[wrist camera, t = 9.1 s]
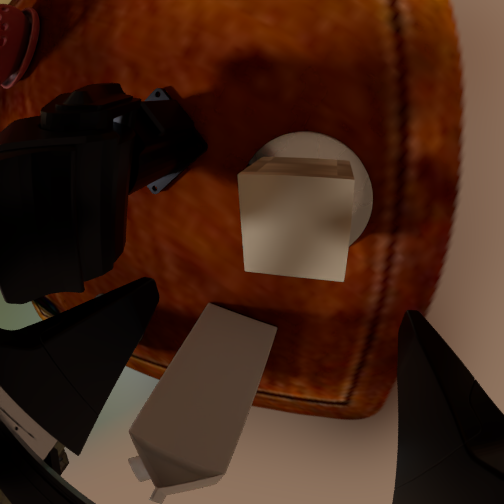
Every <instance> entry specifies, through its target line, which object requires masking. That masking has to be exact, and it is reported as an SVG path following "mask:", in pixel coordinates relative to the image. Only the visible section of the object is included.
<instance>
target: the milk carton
mask: <svg viewBox="0 0 504 504" xmlns="http://www.w3.org/2000/svg"><path fill="white" fill-rule="evenodd" d="M276 331H277V327H274V326H272V325H269V324H266V323H263V322H260V321H257V320H254V319H252V318H249V317H246V316H243V315H241V314H238V313H235V312H232V311H230V310H227V309H224V308H222V307H219V306H216V305H214V304H211V303H208V305H207V306H206V308H205V310H204V311H203V313H202V314H201V316H200V317H199V319H198V321H197V322H196V324H195V325H194V327H193V328H192V330H191V332H190V333H189V335H188V336H187V338H186V339H185V341H184V343H183V344H182V346H181V347H180V349H179V350H178V352H177V354H176V355H175V357H174V358H173V360H172V362H171V363H170V365H169V366H168V368H167V369H166V371H165V373H164V374H163V376H162V377H161V379H160V381H159V382H158V384H157V385H156V387H155V389H154V390H153V392H152V394H151V395H150V397H149V398H148V400H147V402H146V403H145V405H144V406H143V408H142V409H141V411H140V413H139V414H138V416H137V417H136V419H135V421H134V422H133V424H132V426H131V428H130V429H129V434H130V436H131V439H132V441H133V443H134V445H135V448H136V450H137V452H138V454H139V456H136V457H133V458H129V459H128V461H129V463H130V466H131V468H132V470H133V472H134V474H135V476H136V477H137V478H138V480H139V481H140V482H142V481H145V480H149V479H151V480H152V482H153V484H154V486H155V490H154V491H153V493H152V495H151V497H150V499H149V500H151V501H154V502H157V503H160V504H162V503H163V501H164V499H165V497H166V495H169V494H175V493H180V492H184V491H190V490H194V489H199V488H203V487H207V486H211V485H214V484H217V482H218V481H219V480H220V479H221V478H222V477H223V476H224V475H225V473H226V471H227V468H228V466H229V463H230V461H231V458H232V456H233V453H234V450H235V448H236V445H237V443H238V440H239V437H240V435H241V432H242V430H243V427H244V424H245V422H246V419H247V416H248V414H249V411H250V408H251V405H252V402H253V400H254V397H255V394H256V391H257V388H258V385H259V383H260V380H261V377H262V374H263V371H264V368H265V365H266V362H267V359H268V356H269V353H270V350H271V347H272V344H273V341H274V338H275V334H276Z"/></svg>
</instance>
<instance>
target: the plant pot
mask: <svg viewBox="0 0 504 504" xmlns="http://www.w3.org/2000/svg"><path fill="white" fill-rule="evenodd" d="M39 29H40V21H39V16H38V14H37V12H36V11H35V10H34V9H33V8H25V9H24V10H22V11H20V10H19V9H17V8H15V7H13V6H11V5H7V4H0V85H1V86H2V87H3V88H10V87H12V86H14V85H15V84H16V83H17V82H18V81H19V80H20V79H21V78H22V76H23V75H24V73H25V72H26V70H27V69H28V66H29V64H30V62H31V60H32V57H33V55H34V52H35V48H36V45H37V41H38V37H39Z"/></svg>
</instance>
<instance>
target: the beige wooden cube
mask: <svg viewBox="0 0 504 504" xmlns="http://www.w3.org/2000/svg"><path fill="white" fill-rule="evenodd" d="M237 175H238V189H239V202H240V215H241V228H242V241H243V253H244V266H245V271H248V272H256V273H265V274H274V275H283V276H292V277H302V278H311V279H321V280H331V281H341V282H344V277H345V270H346V263H347V255H348V247H349V239H350V230H351V220H352V209H353V197H354V183H355V179H354V175H353V172H352V168H351V164H350V161H347V160H334V159H318V158H296V157H262V158H260V159H259V160H257V161H256V162H254V163H253V164H252V165H250V166H249V167H247V168H246V169H244V170H243V171H242V172H240V173H239V174H237Z"/></svg>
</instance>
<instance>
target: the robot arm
mask: <svg viewBox="0 0 504 504" xmlns="http://www.w3.org/2000/svg"><path fill="white" fill-rule="evenodd" d="M159 92H160V93H161V94H160V97H159V96H158V93H159ZM199 144H201V145H202V149H201V150H200V149H199V147H198V145H199ZM206 150H207V143H206V142H205V140H204V139H203V138H202V136H201V135H200V134H199V132H198V131H197V130H196V129H195V127H194V122H193V121H192V119H191V118H190V117H189V116H188V114H187V113H186V112H185V111H184V109H183V108H182V107H181V106H180V104H179V103H178V102H177V101H176V100H173V99H172V98H171V97H170V96H169V94H168V93H167V92H166V91H165V90H164V89H163V88H157V89H155V90H154V91H153V92H152V93H151V94H150V96H149V97H148V98H147V99H146V100H145V101H142V102H141V99H138V98H133V96H131V95H126V94H125V93H124V92H123V90H122V88H121V86H120V84H118V83H100V84H91V85H87V86H85V87H82V88H80V89H77V90H75V91H74V92H72V93H64V94H60V95H59V96H57V97H56V98H55V99H53V100H52V101H51V102H49V103H48V104H47V105H46V106H44V107H43V108H42V109H41V116H35V117H29V118H24V119H19V120H16V121H14V122H12V123H11V124H10V125H9V126H7V127H6V128H5V129H4V130H3V131H2V132H1V133H0V290H1V293H2V295H3V298H4V300H5V301H6V302H7V303H11V304H24V303H27V302H29V301H32V300H35V299H37V298H39V297H42V296H45V295H48V294H51V293H59V292H78V293H82V292H84V290H85V288H84V281H88V280H91V279H93V278H96V277H99V276H102V275H104V274H105V273H107V272H108V271H110V270H112V269H113V263H114V262H115V261H116V260H117V259H118V258H119V256H120V255H121V254H122V252H123V250H124V246H125V243H126V223H127V206H128V195H130V194H132V193H133V192H135V191H137V190H139V189H141V188H143V187H145V186H147V187H148V188H149V189H150V191H151V192H152V193H153V194H157V193H159V192H161V191H162V190H163V189H164V188H165V187H166V186H167V185H168V184H169V183H170V182H172V181H173V180H174V179H175V178H176V177H177V176H178V175H179V174H180V173H181V172H182V171H184V170H185V169H186V168H187V167H188V166H189V165H190V164H191V163H193V162H194V161H195V160H196V159H197V158H198V157H200V156H201V155H202V154H203V153H204V152H205V151H206ZM155 186H156V187H157V189H156V188H155ZM158 302H159V293H158V289H157V286H156V283H155V280H154V279H153V278H148V277H143V278H140V279H138V280H136V281H133V282H131V283H129V284H126V285H124V286H122V287H119V288H117V289H115V290H112V291H110V292H108V293H105V294H103V295H101V296H98V297H96V298H94V299H92V300H89V301H87V302H85V303H83V304H80V305H78V306H76V307H73V308H71V309H70V310H67V311H64V312H62V313H60V314H58V315H55V316H53V317H50V318H48V319H45V320H43V321H40V322H38V323H35V324H32V325H30V326H27V327H24V328H22V329H19V330H12V331H11V330H4V329H1V328H0V490H1V491H2V492H3V493H4V495H5V496H6V497H7V499H8V500H9V501H10V502H11V503H12V504H95V503H94V502H93V501H91V500H90V499H88V498H87V497H86V496H84V495H83V494H82V493H80V492H79V491H78V490H77V489H75V488H74V487H73V486H71V485H70V484H69V483H68V482H67V481H65V480H64V479H63V478H62V477H61V476H60V475H61V469H60V463H59V456H58V450H57V449H56V448H55V447H54V445H55V443H56V442H57V441H59V442H60V443H61V444H63V445H64V446H65V447H66V448H68V449H69V450H71V451H72V452H73V453H75V454H76V455H77V456H79V454H80V453H81V451H82V449H83V447H84V445H85V443H86V441H87V438H88V436H89V434H90V432H91V430H92V428H93V426H94V424H95V422H96V420H97V418H98V416H99V414H100V412H101V410H102V408H103V406H104V404H105V402H106V400H107V399H108V397H109V395H110V393H111V391H112V389H113V387H114V386H115V384H116V382H117V380H118V378H119V376H120V374H121V373H122V371H123V369H124V367H125V365H126V364H127V362H128V360H129V358H130V357H131V355H132V353H133V351H134V349H135V348H136V346H137V344H138V343H139V341H140V339H141V337H142V336H143V334H144V332H145V330H146V328H147V326H148V323H149V321H150V319H151V317H152V315H153V312H154V310H155V308H156V306H157V304H158ZM397 384H398V453H397V454H398V455H397V468H396V479H395V490H394V496H393V503H392V504H504V414H503V413H502V412H501V411H500V410H499V408H498V407H497V406H496V405H495V404H494V403H493V401H492V400H491V399H490V398H489V397H488V395H487V394H486V393H485V391H484V390H483V388H482V387H481V386H480V384H479V383H478V382H477V380H474V377H473V375H472V374H471V373H470V371H469V370H468V369H467V368H466V367H465V366H464V364H463V363H462V361H461V360H460V359H459V358H458V356H457V355H456V354H455V353H454V351H453V350H452V349H451V348H450V347H449V346H448V344H447V343H446V342H445V341H444V339H443V338H442V337H441V336H440V335H439V334H438V332H437V331H436V330H435V329H434V328H433V327H432V326H431V324H430V323H429V322H428V321H427V320H426V319H425V318H424V317H423V315H422V314H421V313H420V312H419V311H417V310H407V311H406V312H405V314H404V317H403V320H402V323H401V325H400V328H399V332H398V365H397Z"/></svg>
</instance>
